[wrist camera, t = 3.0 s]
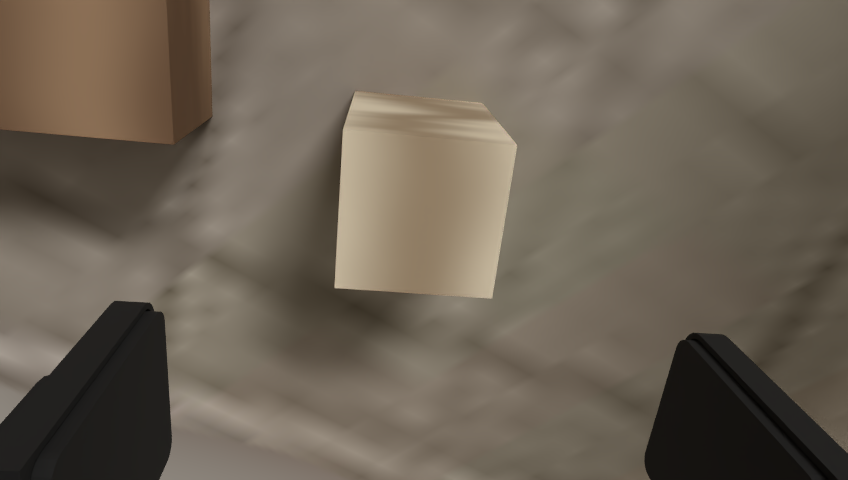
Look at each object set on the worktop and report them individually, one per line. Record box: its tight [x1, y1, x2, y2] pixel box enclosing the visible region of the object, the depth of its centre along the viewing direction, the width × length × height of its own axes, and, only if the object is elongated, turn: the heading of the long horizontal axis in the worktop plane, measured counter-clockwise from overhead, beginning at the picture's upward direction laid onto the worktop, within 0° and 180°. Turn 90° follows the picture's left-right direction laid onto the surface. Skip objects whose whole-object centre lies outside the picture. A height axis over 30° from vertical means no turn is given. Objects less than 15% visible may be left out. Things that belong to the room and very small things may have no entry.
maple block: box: [335, 91, 517, 298], centre depth 21 cm, size 5×5×7 cm
